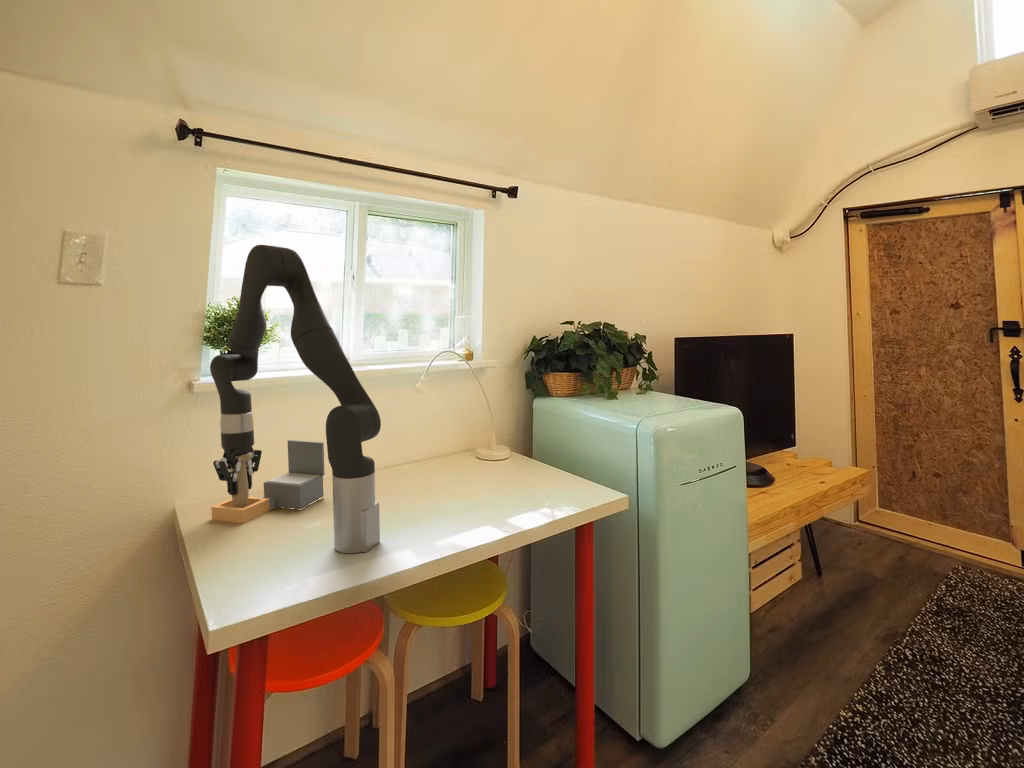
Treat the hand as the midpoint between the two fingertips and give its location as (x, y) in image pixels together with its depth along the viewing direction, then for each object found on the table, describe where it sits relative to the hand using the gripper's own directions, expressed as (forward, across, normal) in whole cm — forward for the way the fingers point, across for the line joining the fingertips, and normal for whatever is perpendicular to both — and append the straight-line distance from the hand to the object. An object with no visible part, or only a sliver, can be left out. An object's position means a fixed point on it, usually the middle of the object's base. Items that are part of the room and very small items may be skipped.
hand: (240, 491), depth 121 cm
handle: (+5, 0, 0) cm, 5 cm away
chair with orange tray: (+7, +7, -4) cm, 10 cm away
